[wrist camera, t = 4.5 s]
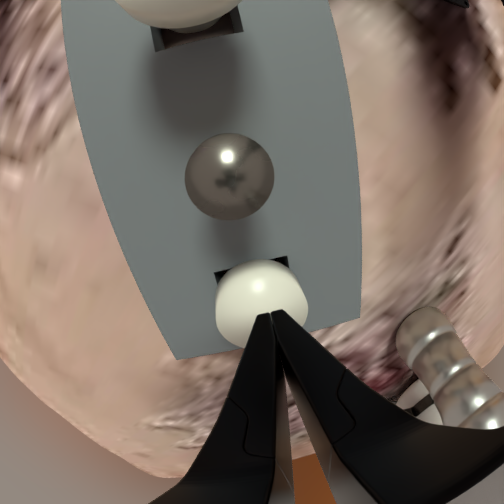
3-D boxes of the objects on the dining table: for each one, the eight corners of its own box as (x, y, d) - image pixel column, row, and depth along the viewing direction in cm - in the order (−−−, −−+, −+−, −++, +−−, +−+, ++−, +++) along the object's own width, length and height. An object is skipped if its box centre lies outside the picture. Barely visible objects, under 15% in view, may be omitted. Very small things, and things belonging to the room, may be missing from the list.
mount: (289, -36, 11) (305, -62, 8) (341, 287, 23) (359, 317, 20) (86, 11, 11) (60, -6, 7) (180, 325, 23) (176, 359, 20)
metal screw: (249, 121, 13) (265, 125, 9) (260, 178, 14) (281, 210, 10) (189, 135, 13) (174, 146, 9) (203, 191, 14) (197, 229, 10)
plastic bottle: (439, 321, 28) (525, 445, 11) (394, 353, 29) (468, 490, 12) (432, 288, 25) (544, 431, 8) (382, 324, 27) (475, 489, 9)
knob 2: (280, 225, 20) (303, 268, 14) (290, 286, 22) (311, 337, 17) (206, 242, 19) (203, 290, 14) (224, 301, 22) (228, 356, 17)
